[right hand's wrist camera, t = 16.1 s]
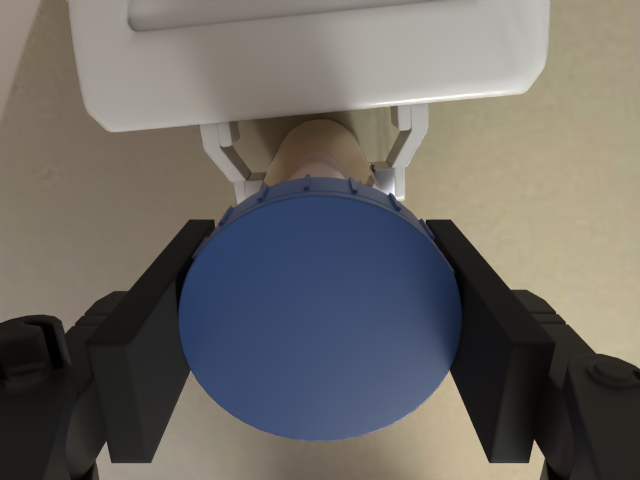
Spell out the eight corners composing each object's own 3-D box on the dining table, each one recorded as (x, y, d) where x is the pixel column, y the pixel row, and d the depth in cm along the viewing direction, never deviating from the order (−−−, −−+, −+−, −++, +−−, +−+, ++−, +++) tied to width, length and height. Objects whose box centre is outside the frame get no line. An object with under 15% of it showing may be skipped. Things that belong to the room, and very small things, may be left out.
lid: (486, 331, 12) (511, 370, 11) (285, 430, 13) (280, 479, 12) (365, 120, 10) (374, 129, 9) (142, 260, 11) (114, 292, 10)
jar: (378, 175, 29) (472, 352, 11) (307, 218, 30) (288, 442, 12) (334, 101, 27) (361, 167, 9) (261, 148, 28) (158, 290, 10)
